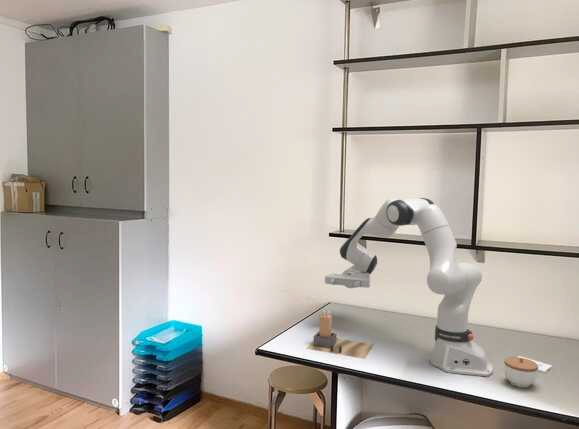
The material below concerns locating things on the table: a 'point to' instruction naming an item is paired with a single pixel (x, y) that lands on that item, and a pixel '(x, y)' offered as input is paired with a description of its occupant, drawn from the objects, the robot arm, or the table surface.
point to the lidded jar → (520, 371)
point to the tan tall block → (325, 325)
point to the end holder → (325, 341)
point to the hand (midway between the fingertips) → (343, 284)
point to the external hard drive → (541, 366)
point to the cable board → (346, 348)
